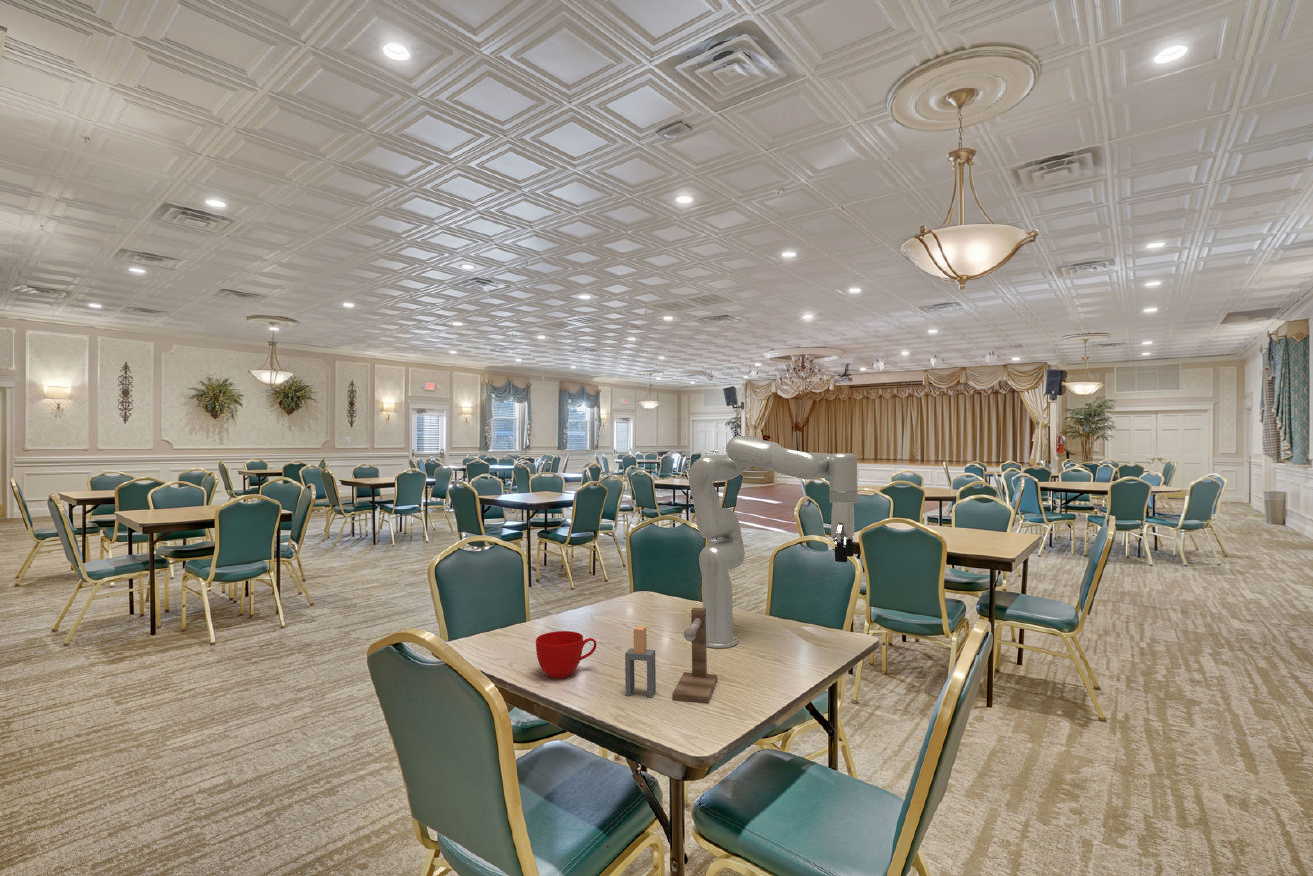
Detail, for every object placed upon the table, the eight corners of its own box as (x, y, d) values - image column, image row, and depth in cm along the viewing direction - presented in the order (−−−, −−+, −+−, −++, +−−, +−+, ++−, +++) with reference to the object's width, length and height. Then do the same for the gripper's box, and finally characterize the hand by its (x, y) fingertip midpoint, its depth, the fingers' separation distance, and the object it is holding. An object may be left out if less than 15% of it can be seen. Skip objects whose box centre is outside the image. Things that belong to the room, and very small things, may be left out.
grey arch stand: (625, 695, 147) (624, 629, 148) (630, 689, 151) (629, 624, 152) (651, 698, 146) (651, 630, 146) (655, 691, 150) (654, 626, 150)
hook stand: (684, 677, 159) (683, 606, 160) (717, 680, 157) (716, 608, 157) (671, 701, 144) (670, 623, 144) (708, 704, 141) (706, 625, 142)
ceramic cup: (602, 677, 160) (602, 640, 160) (539, 686, 154) (539, 647, 155) (591, 661, 172) (591, 627, 173) (532, 669, 167) (532, 634, 167)
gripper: (835, 495, 174) (836, 553, 173) (823, 499, 158) (824, 563, 158) (862, 495, 170) (863, 555, 170) (852, 500, 155) (853, 565, 154)
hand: (844, 559), depth 164 cm, fingers open, 9 cm apart
